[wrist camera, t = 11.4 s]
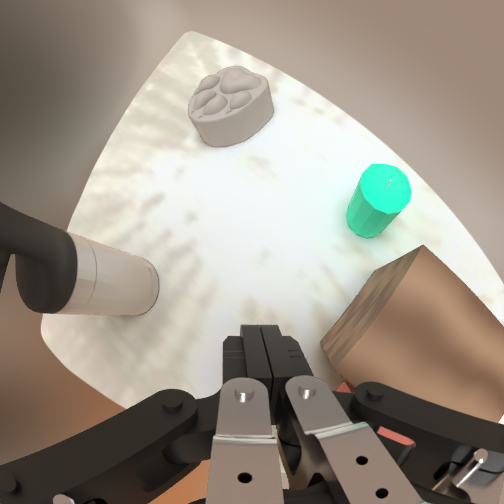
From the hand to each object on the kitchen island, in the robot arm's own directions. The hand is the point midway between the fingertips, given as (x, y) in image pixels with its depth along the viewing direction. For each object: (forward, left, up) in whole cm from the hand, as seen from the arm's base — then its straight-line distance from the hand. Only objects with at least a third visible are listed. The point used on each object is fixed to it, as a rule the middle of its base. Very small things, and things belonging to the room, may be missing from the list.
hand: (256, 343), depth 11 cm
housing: (+15, -8, -25) cm, 30 cm away
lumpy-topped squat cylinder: (-2, +33, -25) cm, 42 cm away
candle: (+14, +11, -25) cm, 31 cm away
